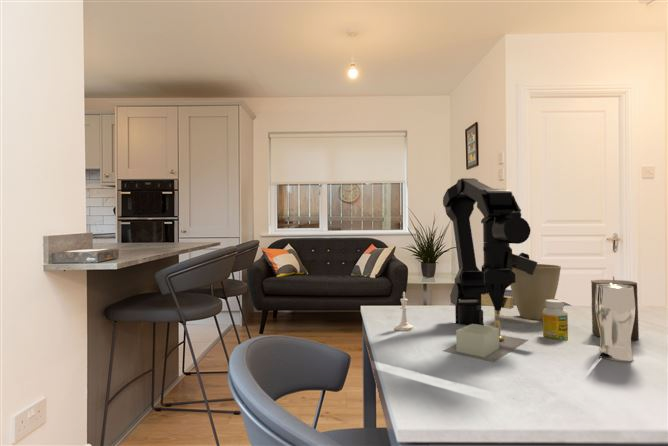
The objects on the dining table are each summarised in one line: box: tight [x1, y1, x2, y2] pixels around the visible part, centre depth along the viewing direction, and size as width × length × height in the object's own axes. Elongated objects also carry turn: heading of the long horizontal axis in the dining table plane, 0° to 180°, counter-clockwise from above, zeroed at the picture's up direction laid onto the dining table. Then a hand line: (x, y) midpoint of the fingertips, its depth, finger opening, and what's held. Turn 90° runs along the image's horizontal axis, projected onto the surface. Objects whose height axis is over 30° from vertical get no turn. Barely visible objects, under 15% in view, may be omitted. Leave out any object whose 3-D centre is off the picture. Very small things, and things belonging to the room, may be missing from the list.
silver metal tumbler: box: [595, 284, 635, 363], centre depth 86 cm, size 7×7×15 cm
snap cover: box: [455, 324, 499, 357], centre depth 88 cm, size 6×8×4 cm
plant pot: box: [509, 263, 561, 321], centre depth 125 cm, size 15×15×16 cm
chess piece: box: [394, 291, 414, 332], centre depth 112 cm, size 5×5×10 cm
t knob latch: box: [481, 293, 540, 341], centre depth 94 cm, size 3×12×10 cm, turn 40°
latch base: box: [442, 335, 529, 363], centre depth 91 cm, size 11×21×1 cm, turn 137°
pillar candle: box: [590, 276, 640, 342], centre depth 103 cm, size 10×10×15 cm
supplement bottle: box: [542, 299, 569, 342], centre depth 99 cm, size 5×5×10 cm
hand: (497, 309), depth 96 cm, fingers closed on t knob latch, 3 cm apart
